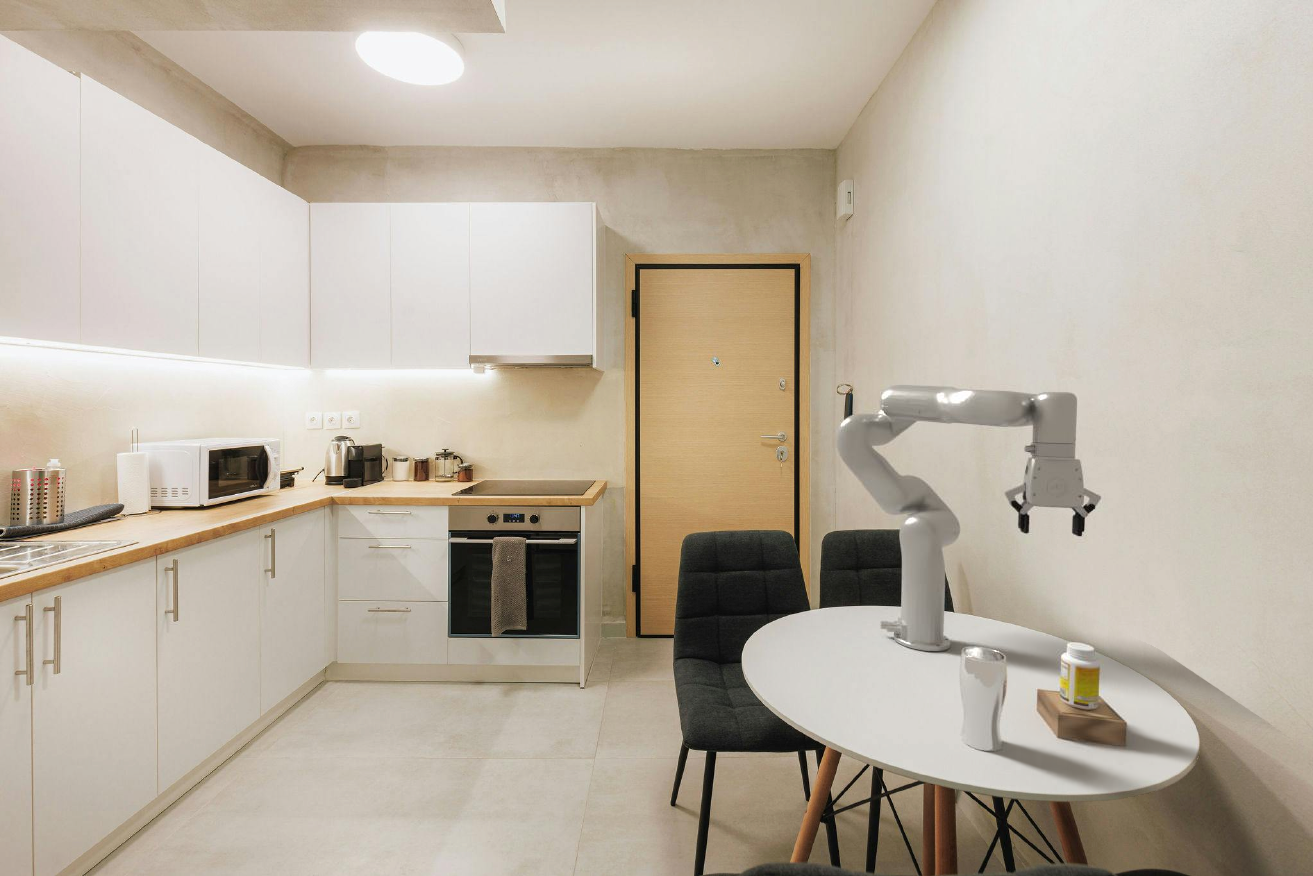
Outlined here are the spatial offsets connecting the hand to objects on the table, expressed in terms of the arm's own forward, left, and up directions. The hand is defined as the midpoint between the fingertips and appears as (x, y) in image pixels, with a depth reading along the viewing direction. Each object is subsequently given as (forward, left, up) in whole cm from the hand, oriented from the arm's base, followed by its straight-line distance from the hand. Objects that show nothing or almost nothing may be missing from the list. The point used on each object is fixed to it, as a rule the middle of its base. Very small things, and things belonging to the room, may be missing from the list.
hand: (1050, 533), depth 126 cm
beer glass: (-20, -32, -31) cm, 48 cm away
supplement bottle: (-2, -22, -26) cm, 34 cm away
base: (-2, -22, -30) cm, 37 cm away
